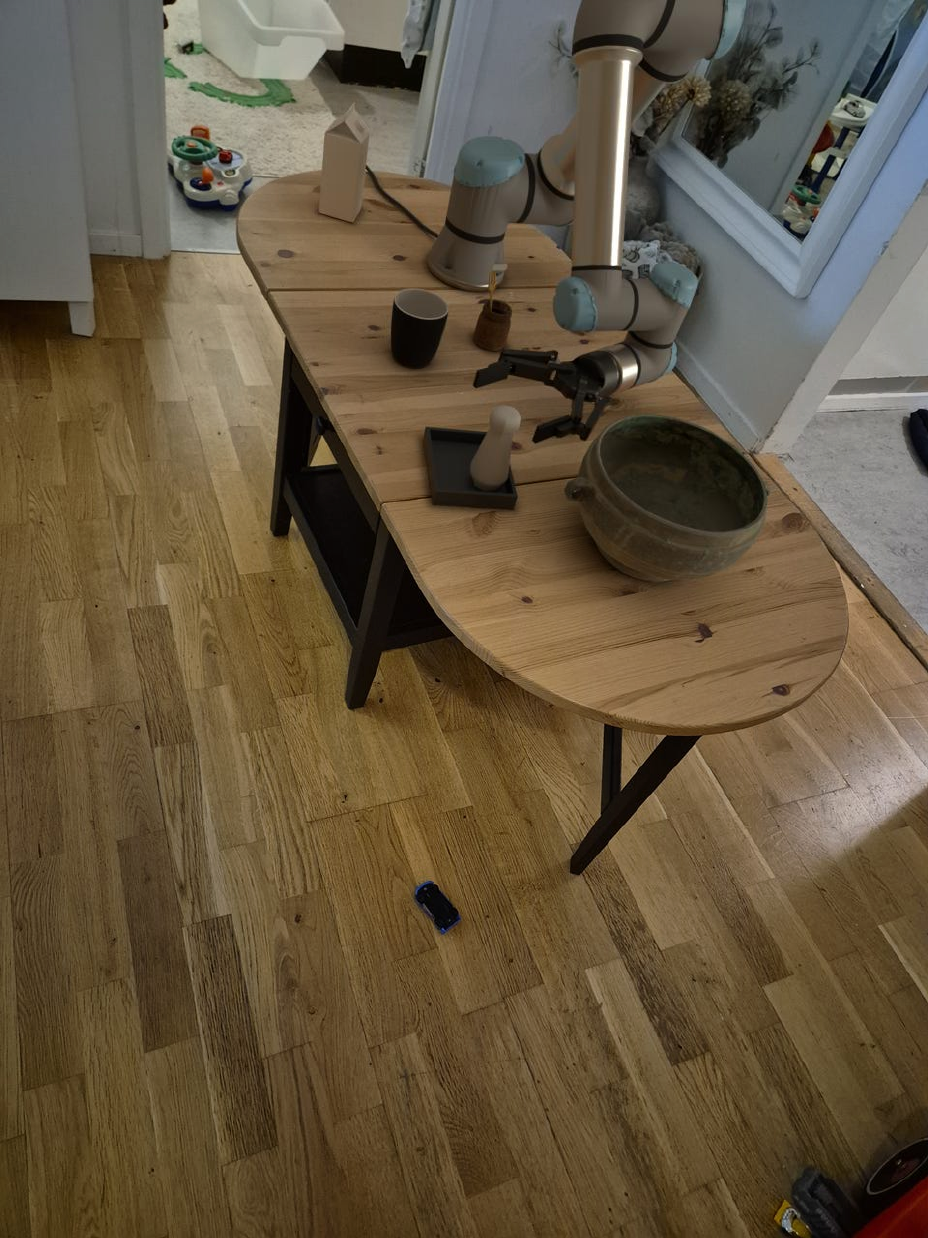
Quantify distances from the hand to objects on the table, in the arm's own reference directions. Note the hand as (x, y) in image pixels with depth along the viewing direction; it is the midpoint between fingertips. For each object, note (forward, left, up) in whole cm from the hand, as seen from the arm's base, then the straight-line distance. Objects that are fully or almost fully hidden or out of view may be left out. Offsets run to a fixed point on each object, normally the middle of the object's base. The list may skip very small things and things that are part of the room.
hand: (505, 406), depth 116 cm
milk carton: (-73, -20, -10) cm, 77 cm away
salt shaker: (+6, -2, -10) cm, 11 cm away
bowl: (+17, +21, -10) cm, 29 cm away
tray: (+4, -4, -10) cm, 11 cm away
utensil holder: (-32, +5, -10) cm, 34 cm away
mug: (-26, -10, -10) cm, 30 cm away
